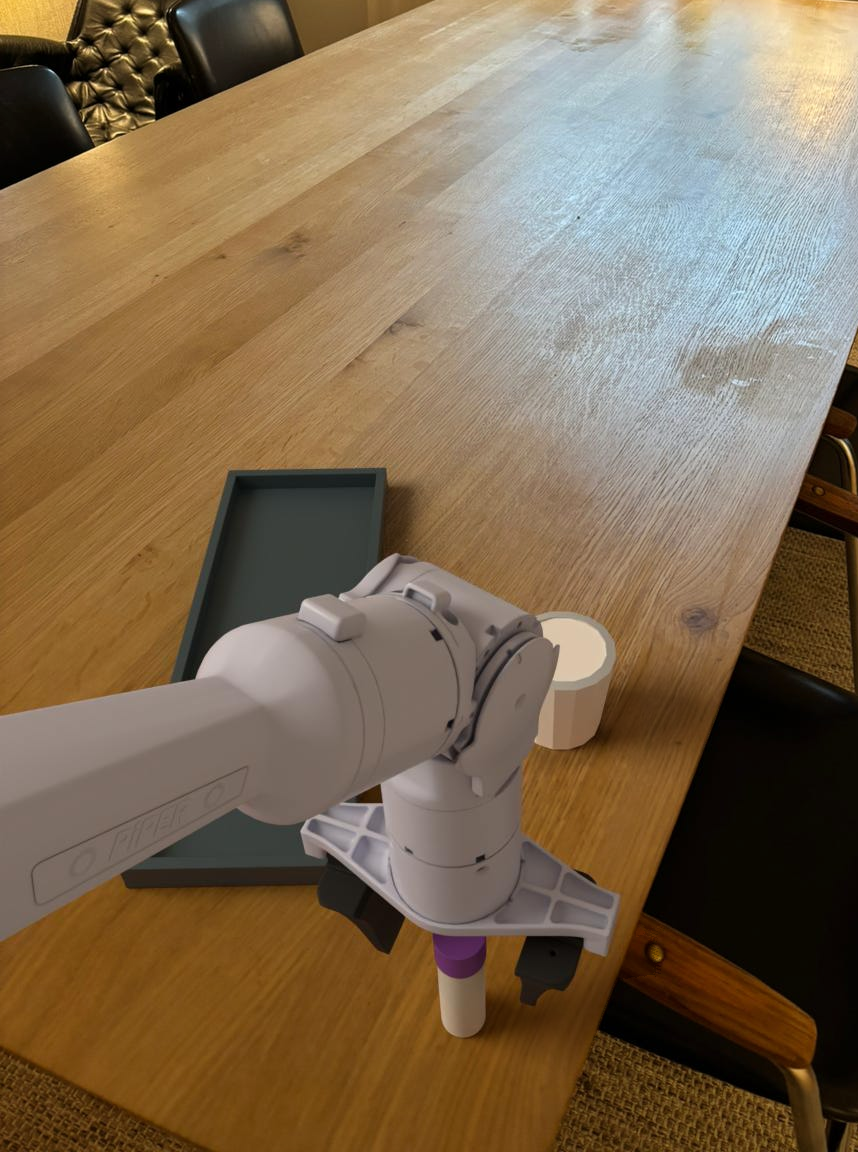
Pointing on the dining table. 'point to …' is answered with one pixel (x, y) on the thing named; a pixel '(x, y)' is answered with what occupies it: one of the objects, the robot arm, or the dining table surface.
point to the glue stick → (461, 982)
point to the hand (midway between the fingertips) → (461, 959)
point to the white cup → (575, 679)
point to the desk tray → (256, 593)
